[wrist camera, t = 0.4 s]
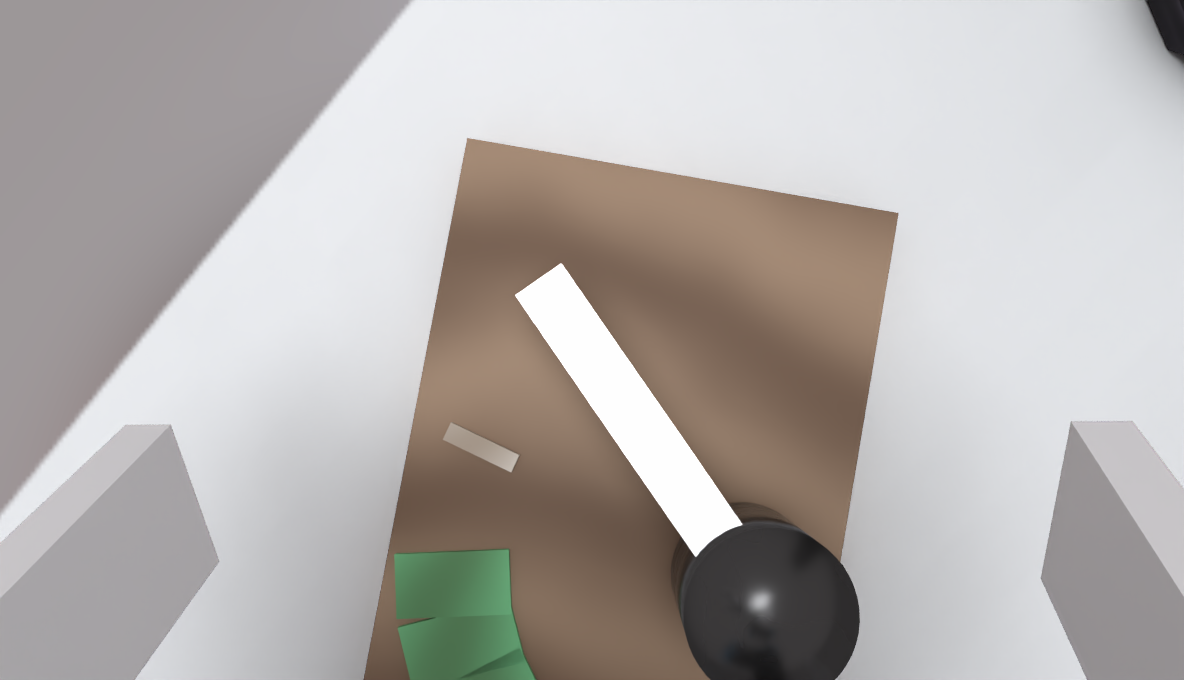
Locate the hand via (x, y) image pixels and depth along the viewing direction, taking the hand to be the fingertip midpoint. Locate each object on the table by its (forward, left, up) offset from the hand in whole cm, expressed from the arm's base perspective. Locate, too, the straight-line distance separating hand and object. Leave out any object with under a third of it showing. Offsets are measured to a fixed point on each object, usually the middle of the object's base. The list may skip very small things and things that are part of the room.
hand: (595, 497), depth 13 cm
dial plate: (-3, -1, -16) cm, 17 cm away
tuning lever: (0, -2, -14) cm, 14 cm away
